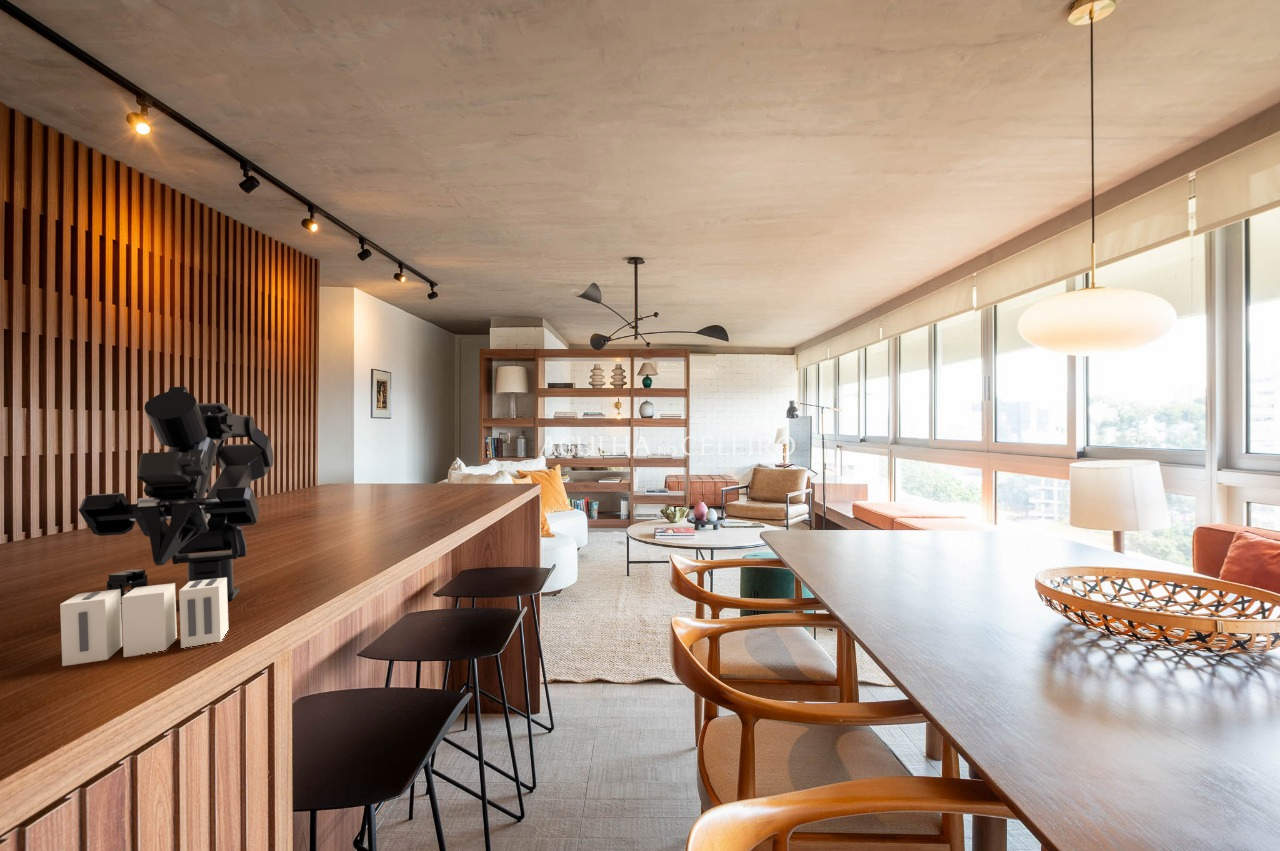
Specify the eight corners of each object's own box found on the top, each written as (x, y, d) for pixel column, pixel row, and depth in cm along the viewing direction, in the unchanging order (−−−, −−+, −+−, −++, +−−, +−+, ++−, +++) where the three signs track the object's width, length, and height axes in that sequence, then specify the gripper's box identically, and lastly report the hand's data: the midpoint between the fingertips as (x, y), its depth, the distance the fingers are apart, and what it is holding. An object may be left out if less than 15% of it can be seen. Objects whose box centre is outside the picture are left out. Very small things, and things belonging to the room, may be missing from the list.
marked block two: (191, 636, 79) (189, 580, 79) (228, 631, 81) (226, 576, 81) (180, 649, 74) (178, 589, 74) (220, 643, 76) (218, 585, 76)
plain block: (137, 644, 77) (135, 587, 77) (176, 638, 78) (175, 583, 78) (123, 657, 72) (121, 597, 72) (165, 651, 74) (163, 592, 74)
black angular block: (107, 612, 92) (107, 581, 93) (66, 612, 94) (65, 581, 94) (181, 590, 105) (180, 563, 105) (144, 590, 106) (143, 563, 106)
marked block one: (80, 651, 74) (78, 592, 74) (122, 645, 76) (120, 587, 76) (61, 667, 70) (59, 603, 70) (106, 660, 71) (104, 598, 71)
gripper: (83, 432, 80) (36, 532, 69) (250, 428, 86) (229, 518, 75) (114, 487, 87) (75, 585, 77) (266, 480, 93) (249, 569, 83)
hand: (158, 563), depth 78 cm, fingers closed
